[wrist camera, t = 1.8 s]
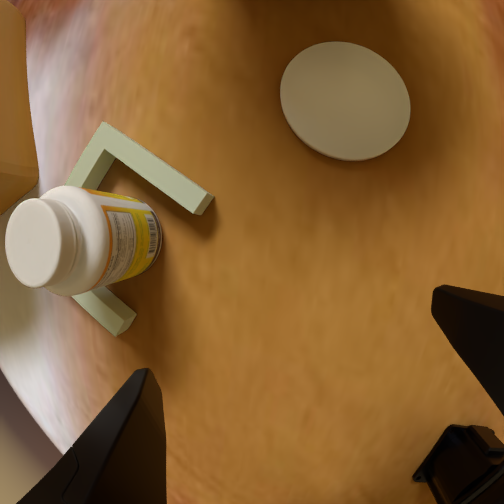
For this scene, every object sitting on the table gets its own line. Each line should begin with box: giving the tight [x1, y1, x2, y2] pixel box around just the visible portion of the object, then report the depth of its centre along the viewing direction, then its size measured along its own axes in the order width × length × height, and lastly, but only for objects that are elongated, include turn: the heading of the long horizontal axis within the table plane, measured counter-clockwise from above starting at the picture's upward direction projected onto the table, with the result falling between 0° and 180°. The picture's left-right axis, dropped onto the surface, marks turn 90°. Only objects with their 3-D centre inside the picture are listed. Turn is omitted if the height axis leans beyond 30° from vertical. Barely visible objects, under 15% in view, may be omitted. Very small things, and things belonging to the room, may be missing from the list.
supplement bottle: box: [5, 186, 162, 296], centre depth 16 cm, size 6×6×10 cm
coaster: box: [280, 41, 410, 161], centre depth 19 cm, size 9×9×1 cm
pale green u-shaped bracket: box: [64, 121, 214, 337], centre depth 21 cm, size 10×12×2 cm
